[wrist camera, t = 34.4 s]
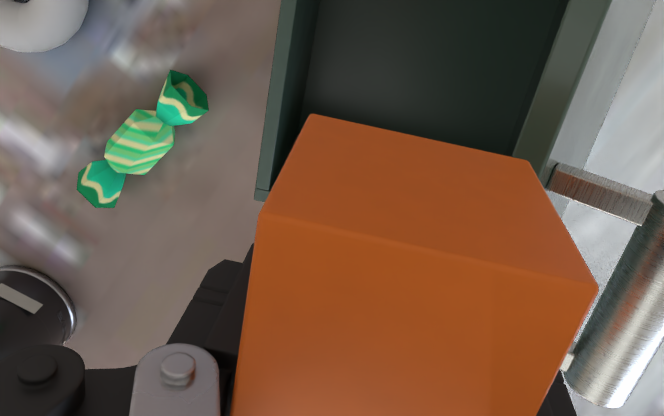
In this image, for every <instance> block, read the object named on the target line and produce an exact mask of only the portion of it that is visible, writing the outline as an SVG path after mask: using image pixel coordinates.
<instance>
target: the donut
mask: <svg viewBox="0 0 664 416" xmlns="http://www.w3.org/2000/svg"><path fill="white" fill-rule="evenodd" d="M88 3H89V0H30V1H29V2H27V3H19V2H16V1H14V0H0V46H1V47H4V48H8V49H11V50H14V51H17V52H46V51H49V50H51V49H54V48H56V47H59V46H61V45H63V44H65V43H66V42H67V41H68V40H69V39H70V38H71V37H72V36H73V35H74V34H75V33H76V32H77V31H78V30H79V29H80V27H81V25H82V23H83V20H84V18H85V16H86V13H87V11H88Z"/></svg>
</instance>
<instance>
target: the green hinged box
mask: <svg viewBox="0 0 664 416" xmlns="http://www.w3.org/2000/svg"><path fill="white" fill-rule="evenodd" d="M568 2H569V0H281V7H280V14H279V22H278V29H277V36H276V43H275V50H274V58H273V65H272V72H271V79H270V86H269V94H268V101H267V108H266V115H265V122H264V129H263V137H262V144H261V151H260V158H259V165H258V173H257V180H256V188H255V194H254V200H257V201H262V202H265V201H266V199H267V197H268V195H269V193H270V191H271V189H272V187H273V185H274V183H275V181H276V179H277V177H278V175H279V173H280V171H281V169H282V168H283V166H284V164H285V162H286V160H287V158H288V156H289V154H290V152H291V150H292V148H293V146H294V144H295V142H296V140H297V138H298V136H299V134H300V132H301V130H302V128H303V126H304V124H305V122H306V120H307V118H308V116H309V115H310V114H317V115H322V116H327V117H331V118H336V119H340V120H345V121H349V122H354V123H359V124H363V125H368V126H372V127H377V128H381V129H386V130H391V131H395V132H400V133H404V134H409V135H413V136H418V137H423V138H427V139H432V140H436V141H441V142H445V143H450V144H455V145H459V146H464V147H468V148H473V149H477V150H482V151H487V152H491V153H496V154H500V155H505V156H509V157H512V154H513V151H514V149H515V146H516V143H517V140H518V138H519V135H520V132H521V130H522V127H523V124H524V121H525V119H526V116H527V113H528V111H529V108H530V105H531V102H532V100H533V97H534V94H535V91H536V89H537V86H538V83H539V81H540V78H541V75H542V72H543V70H544V67H545V64H546V61H547V59H548V56H549V53H550V51H551V48H552V45H553V42H554V40H555V37H556V34H557V32H558V29H559V26H560V23H561V21H562V18H563V15H564V12H565V10H566V7H567V4H568Z"/></svg>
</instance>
